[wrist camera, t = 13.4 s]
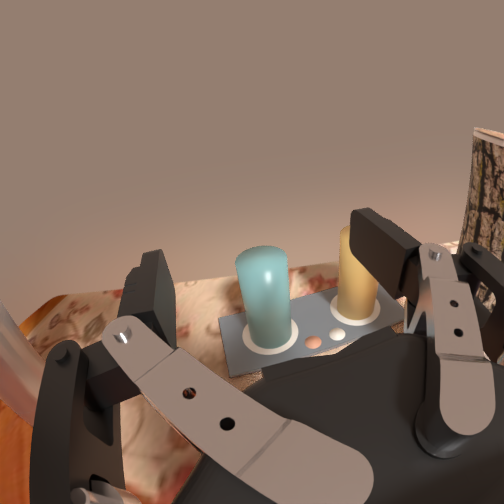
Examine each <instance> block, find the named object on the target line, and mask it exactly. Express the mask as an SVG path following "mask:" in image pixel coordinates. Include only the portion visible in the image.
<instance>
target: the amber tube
mask: <svg viewBox="0 0 504 504" xmlns="http://www.w3.org/2000/svg"><path fill="white" fill-rule="evenodd" d="M349 235H350V225H349V226H346V227H345V228H343V229H342V230H341V232H340V256H339V279H338V296H337V310H338V312H339V313H340V314H341V315H342V316H343V317H345V318H347V319H350V320H363V319H366V318H368V317H369V316H370V315H371V314H372V313H373V311H374V306H375V301H376V295H377V290H378V282H377V280H376V279H375V278H374V277H373V276H372V275H371V274H370V273H369V272H368V271H367V270H366V269H365V267H364V266H363V265H362V264H361V263H360V262H359V261H358V260H357V259H356V258H355V257H354V256H353V255H352V253H351V251H350V247H349Z"/></svg>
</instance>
